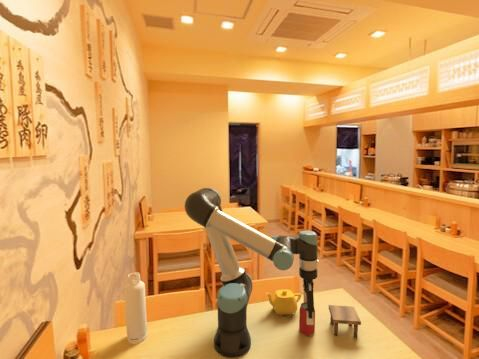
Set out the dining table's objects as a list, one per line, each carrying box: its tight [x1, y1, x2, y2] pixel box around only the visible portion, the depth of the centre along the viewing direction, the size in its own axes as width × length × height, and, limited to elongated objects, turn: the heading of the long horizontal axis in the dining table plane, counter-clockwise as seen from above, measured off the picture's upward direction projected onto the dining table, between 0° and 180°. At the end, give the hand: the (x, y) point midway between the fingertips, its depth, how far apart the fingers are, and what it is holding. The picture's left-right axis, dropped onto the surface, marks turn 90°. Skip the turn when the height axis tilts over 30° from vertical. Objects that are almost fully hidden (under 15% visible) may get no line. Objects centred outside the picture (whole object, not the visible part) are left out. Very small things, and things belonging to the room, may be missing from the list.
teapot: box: [265, 289, 302, 317], centre depth 135 cm, size 18×11×11 cm, turn 95°
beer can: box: [298, 301, 316, 337], centre depth 120 cm, size 7×7×12 cm
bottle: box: [123, 271, 148, 345], centre depth 116 cm, size 8×8×28 cm
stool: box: [328, 304, 362, 339], centre depth 121 cm, size 11×11×8 cm
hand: (308, 314), depth 120 cm, fingers open, 13 cm apart
